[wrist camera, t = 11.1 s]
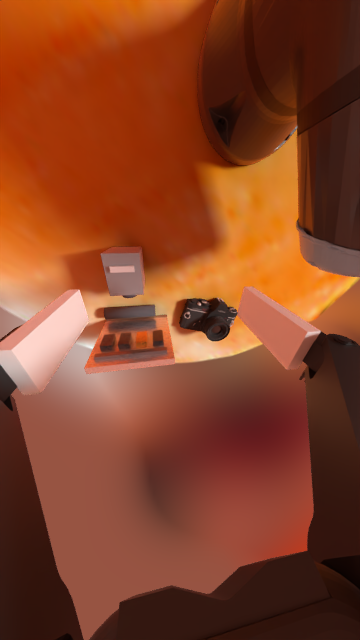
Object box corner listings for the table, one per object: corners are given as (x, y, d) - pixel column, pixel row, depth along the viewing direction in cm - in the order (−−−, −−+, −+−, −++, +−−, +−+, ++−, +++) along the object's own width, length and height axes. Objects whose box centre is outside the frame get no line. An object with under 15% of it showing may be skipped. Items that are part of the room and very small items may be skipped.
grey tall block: (112, 246, 28) (99, 254, 20) (141, 246, 28) (138, 253, 21) (119, 285, 31) (110, 303, 24) (145, 284, 32) (144, 301, 25)
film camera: (175, 338, 33) (203, 307, 28) (173, 314, 39) (197, 283, 33) (221, 353, 39) (253, 329, 33) (214, 329, 44) (241, 305, 38)
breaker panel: (105, 315, 34) (82, 363, 22) (166, 311, 36) (174, 353, 24) (110, 331, 36) (90, 382, 24) (166, 326, 38) (174, 372, 26)
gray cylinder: (108, 316, 34) (105, 321, 32) (106, 306, 33) (103, 311, 31) (155, 312, 36) (155, 318, 33) (154, 303, 34) (154, 308, 32)
